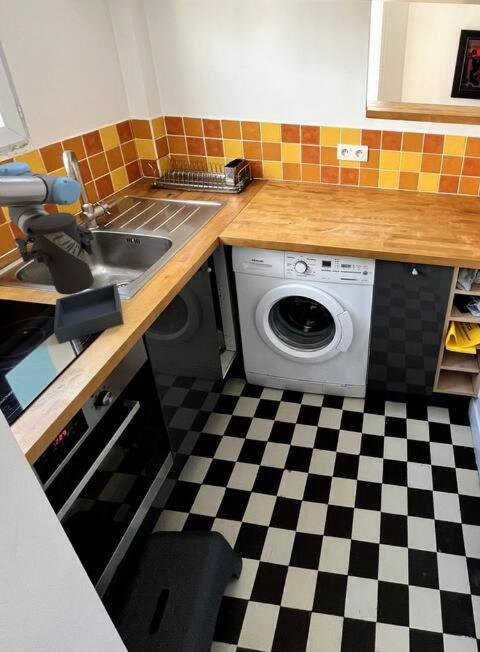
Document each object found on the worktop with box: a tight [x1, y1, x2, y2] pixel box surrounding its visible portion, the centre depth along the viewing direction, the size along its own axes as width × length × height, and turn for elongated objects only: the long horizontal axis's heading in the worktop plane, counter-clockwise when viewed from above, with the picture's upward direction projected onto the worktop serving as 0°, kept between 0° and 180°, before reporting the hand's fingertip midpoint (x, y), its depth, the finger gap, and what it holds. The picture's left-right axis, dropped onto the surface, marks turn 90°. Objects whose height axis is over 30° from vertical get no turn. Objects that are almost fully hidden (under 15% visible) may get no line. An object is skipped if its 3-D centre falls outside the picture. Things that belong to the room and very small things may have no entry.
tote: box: [53, 283, 125, 345], centre depth 108 cm, size 15×15×4 cm
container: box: [30, 211, 95, 295], centre depth 97 cm, size 9×9×20 cm
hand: (70, 256), depth 94 cm, fingers closed on container, 8 cm apart
